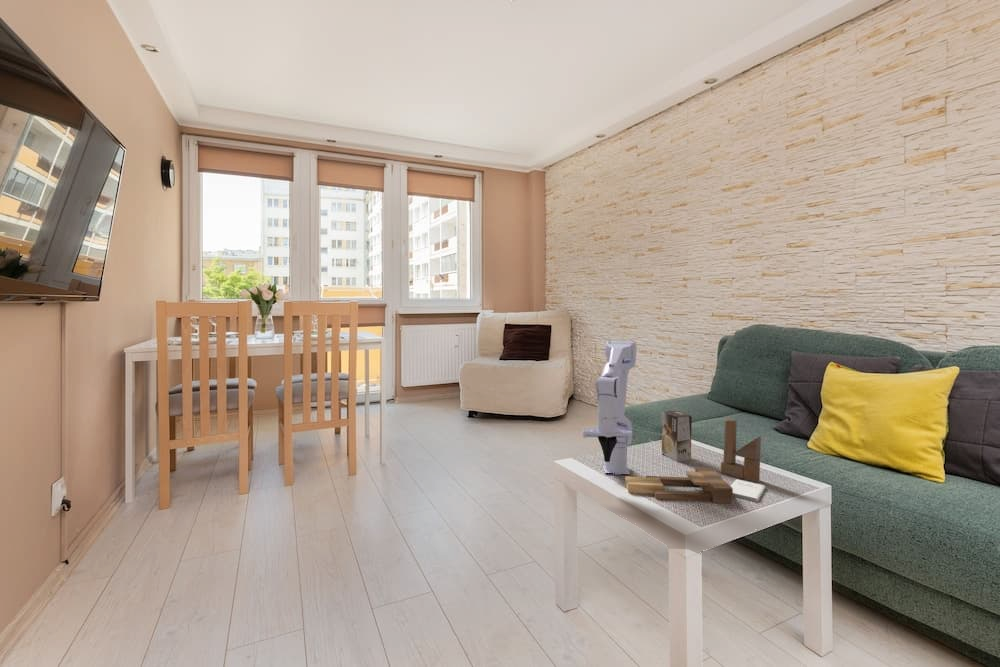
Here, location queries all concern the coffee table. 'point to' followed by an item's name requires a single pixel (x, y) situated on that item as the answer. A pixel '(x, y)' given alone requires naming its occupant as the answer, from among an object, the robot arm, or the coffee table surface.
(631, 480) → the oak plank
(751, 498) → the external hard drive
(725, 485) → the walnut dock
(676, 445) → the coffee box
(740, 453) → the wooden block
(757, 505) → the coffee table surface
